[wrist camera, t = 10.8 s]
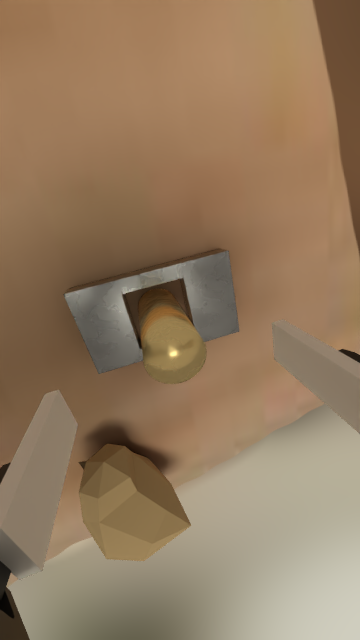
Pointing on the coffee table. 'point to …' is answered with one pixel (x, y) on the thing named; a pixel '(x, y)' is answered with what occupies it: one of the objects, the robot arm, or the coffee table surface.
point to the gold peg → (168, 339)
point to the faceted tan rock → (128, 504)
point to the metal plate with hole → (108, 294)
